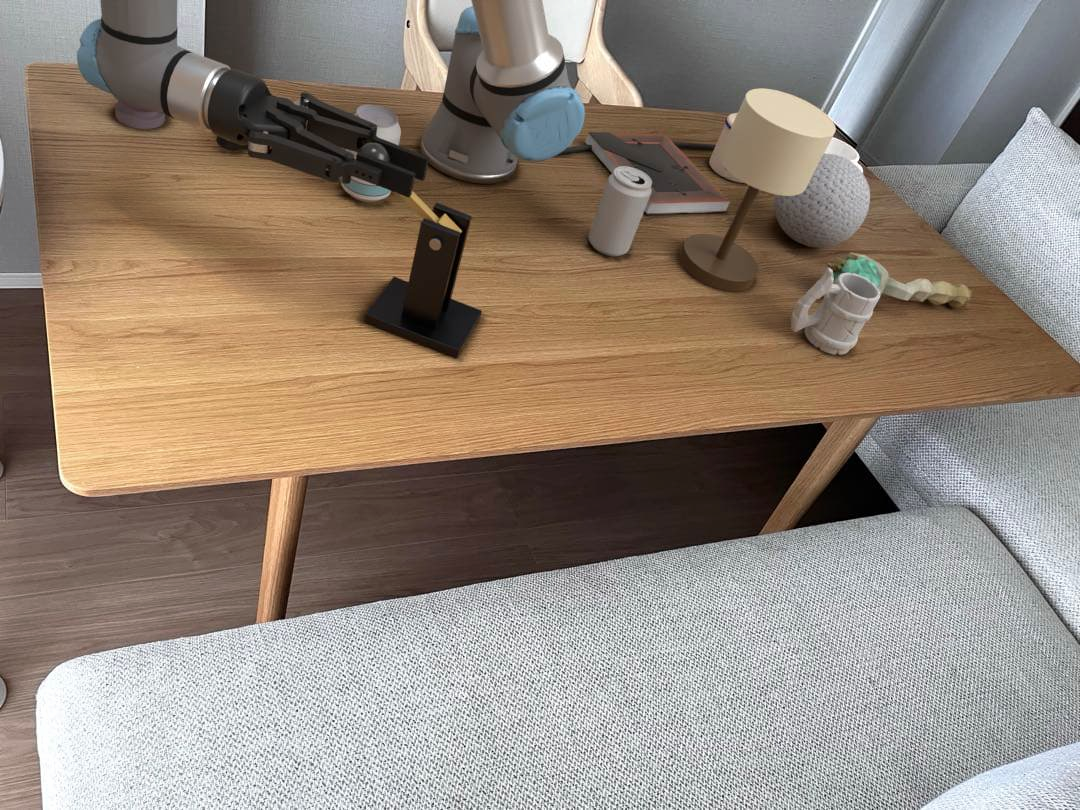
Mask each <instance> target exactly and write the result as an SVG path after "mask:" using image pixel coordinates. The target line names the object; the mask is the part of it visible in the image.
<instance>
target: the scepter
mask: <svg viewBox="0 0 1080 810" xmlns="http://www.w3.org/2000/svg"><path fill="white" fill-rule="evenodd" d="M826 265H827V268H830V269H832V270H833V277H834V282H835V281H836V279H837V278H838V276H839V275H840V274H842V273H851V274H852V273H855V274H858V275H860V276H862V277H864V278H866V279H868V280H870V281H871V282H872V283H873V284H874V285H875V286H876V287H877V289H878V291H879V292H880V296H887V297H893V298H896V299H899V300H903V301H909V300H910V301H913V302H919V303H924V302H925V300H927V301H929V302H930V303H931V304H932V305H934V306H940V305H943V304H948V305H949V306H950V307H952V308H961V307H962V306H964V305H965V304H967V303H968V302H969V301H971V296H972V292H973V291H972V290H971V289H970V288H968V287H967V285H965V284H964V283H954V284H952V283H950V282H947V281H944V280H939V281H938V280H937V281H933V282H931V281H930V280H929V279H928V278H922V277H919V278H917V279H915V280H912V281H908V282H906V283H902V282H900V281H898V280H896V279H894V278H892V277H890V275H889V271H888V270H887V269H886V268H885V267H884V266H883V265H882V264H881V263H879V262H878V261H876V260H874V259H873V258H871V257H869V256H867V255H865V254H859V253H856V252H848V253H847V254H846V256H845V259H844V258H842V257H838V256H836V257H835V258H834V260H833V262H828V263H827V264H826ZM834 282H833V284H834Z"/></svg>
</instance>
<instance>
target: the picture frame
mask: <svg viewBox="0 0 1080 810" xmlns="http://www.w3.org/2000/svg"><path fill="white" fill-rule="evenodd" d="M673 142H674V141H672V140H671V139H670V138H669V137H668V136H667V135H666V134H664V133H624V132H623V133H622V132H621V133H620V132H619V133H617V132H616V133H615V132H608V131H588V133H587V135H586V139H585V141H584V143H585V145H590V144H591V145H592V150H591V151H592V152H593V154H594V155H595V156H596V157H597V158H598V159H599V161H600V162H601V163H602V164H603V165H604V167H605V168H606V169H607V170H608V171H609V172H610V174H612V173H614V170H615V168H617V167H620V166H628V167H633V168H636V169H638V170H640V171H642V172H644V173H646V174H647V175H648V176H649V177H650V178H651V180H652V185H651V190H652V192H651V195H650V197H649V200H648V202H647V205H646V207H645V210H644V214H646V215H666V214H667V215H670V214H671V215H673V214H698V213H699V214H701V213H702V214H704V213H707V214H708V213H724V212H726V211H727V209H728V207H729V205H730V203H731V200H729V199H728V198H727V197H726V195H724V193H723V192H722V191H720V189H718V187H717V186H716V185H715V184H714V183H713V182H712V181H711V180H710V179H709V178H708V177H707V176H706V175H705V174H704V173H703V172H702V171H701V169H699V168H698V166H696V165H695V163H693V162H692V161H691V160H690V159H689V158H688V156H687V155H686V154H685V153H683V151H682V150H681V149H680V148H679V147H677V146H676V145H675V144H674V143H673Z"/></svg>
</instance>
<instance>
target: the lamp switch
mask: <svg viewBox="0 0 1080 810" xmlns="http://www.w3.org/2000/svg"><path fill="white" fill-rule="evenodd" d="M359 151H360V152H362V153H365V154H368V155H370V156H373V157H375V158H378V159H381V160H383V161H386V162H388V163H390V158H389V154H388V152H387V150H386V149H385V148H384V147H383V146H382V145H380V144H378V143H374V142H370V143H367V144H364V145H363V146H362V147H361V148H360V149H359ZM359 151H358V152H359ZM397 195H398V196H399V197H400V198H401V199H402V200H403V201H404V202H405V203H406V204H407V205H408V206H409V207H410V209H412V211H414V212H415V213H416V214H417V216H419V217H420V218H421V219H422V220H423V219H424V218H425V219H427V220H430V221H433V222H435V223H438V224H440V225H443V226H446V227H448V228H451V229H453V230H456V231H458V232H462V230H461V229H460V228H459V227H458V226H457V225H456V224H455V223H454V222H453V221H452V220H451V219H450V218H449V217H448V216H447V215H446V214H444V215H443V216H441V217H440V218H438V217H437V216H436V215H435V214H434V213H433V212H432V211H433V210H432V209H431V208H430V207H428V204H426V203H425V202H424V201H423V200H422V199H421V198H420V197H419V196H418V194H416V193H415V191H413V190H412V194H411V196H410V197H409V198H408V197H406V196H403V195H401V194H398V193H397Z"/></svg>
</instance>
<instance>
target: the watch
mask: <svg viewBox="0 0 1080 810" xmlns="http://www.w3.org/2000/svg"><path fill="white" fill-rule="evenodd" d="M215 141H216V143H217V145H218V146H219V147H220V148H222V149H223V150H226V151H230V152H236V151H237V152H238V151H241V150H243V149H248V144H247V145H239V144H237V143H234V142H232V141H229V140H226V139H224V138H221V137H219V136H216V140H215Z"/></svg>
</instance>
